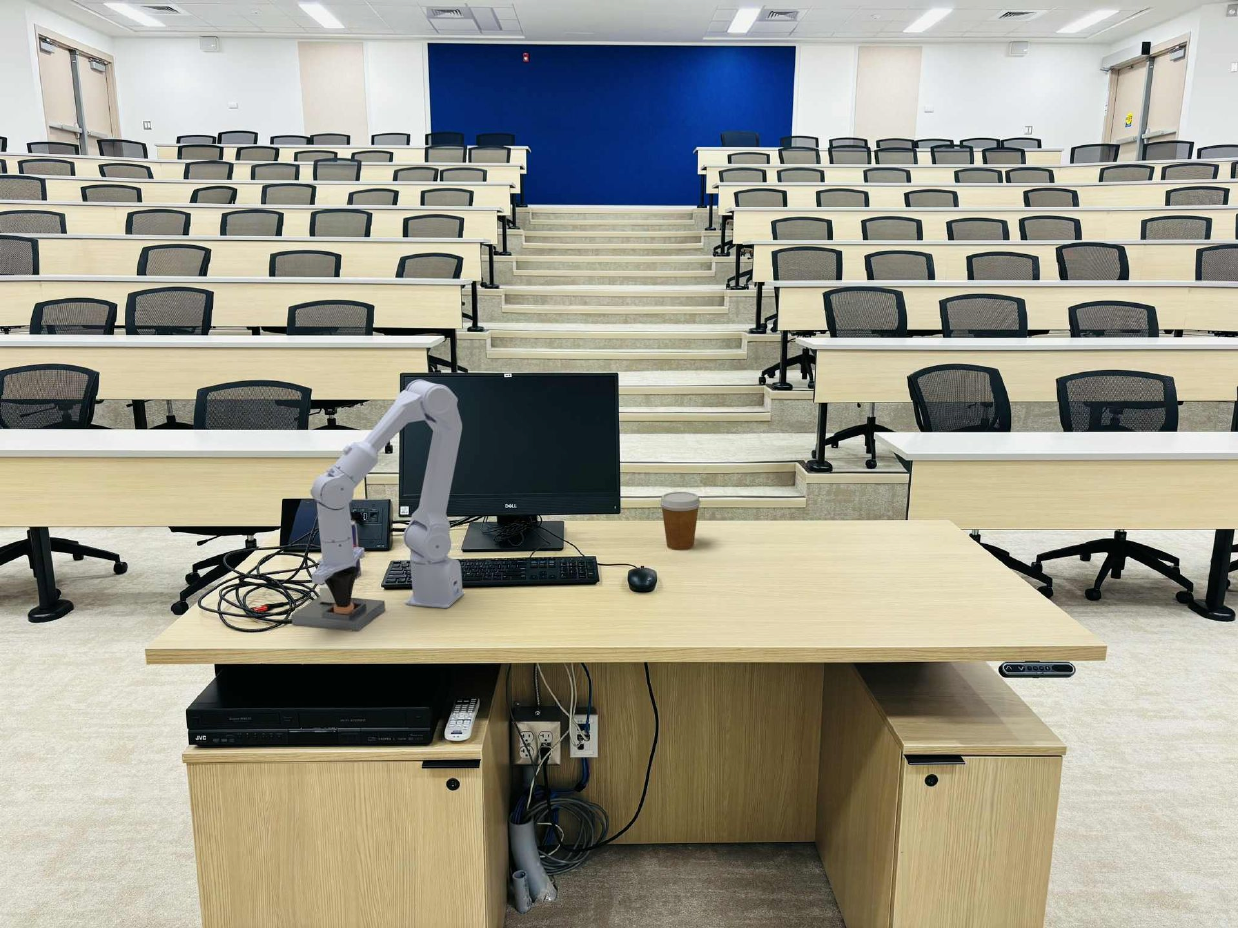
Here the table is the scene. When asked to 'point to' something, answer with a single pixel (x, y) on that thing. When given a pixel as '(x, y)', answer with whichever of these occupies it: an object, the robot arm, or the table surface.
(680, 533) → the disposable coffee cup
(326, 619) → the panel
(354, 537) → the energy drink
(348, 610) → the button
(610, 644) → the table surface
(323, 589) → the on key
